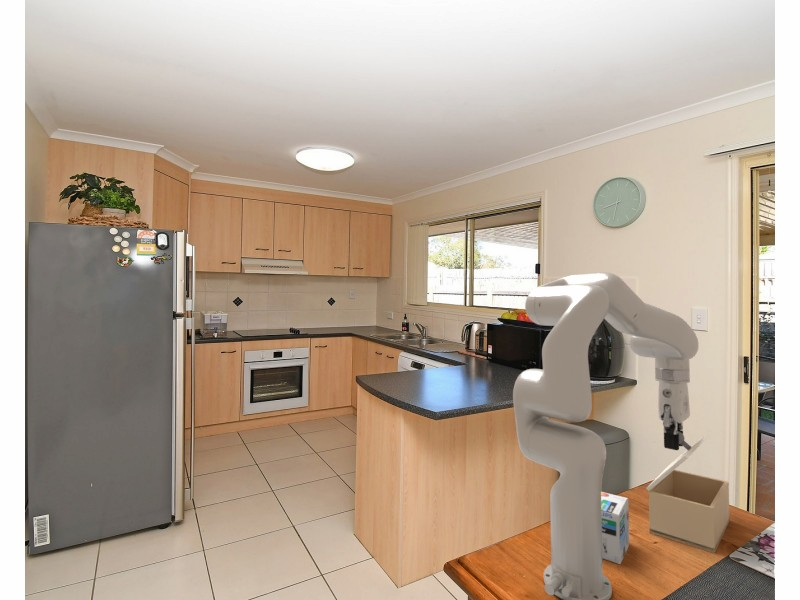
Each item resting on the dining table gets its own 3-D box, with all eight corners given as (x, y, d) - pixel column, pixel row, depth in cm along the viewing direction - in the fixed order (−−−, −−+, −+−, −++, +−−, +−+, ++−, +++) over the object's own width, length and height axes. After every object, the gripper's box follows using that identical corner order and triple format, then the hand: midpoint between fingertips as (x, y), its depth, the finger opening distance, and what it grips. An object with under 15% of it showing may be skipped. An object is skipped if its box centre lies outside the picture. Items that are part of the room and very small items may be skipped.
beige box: (714, 553, 98) (713, 508, 98) (649, 532, 107) (648, 491, 107) (729, 521, 112) (728, 481, 112) (671, 505, 121) (670, 468, 121)
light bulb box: (621, 565, 94) (620, 515, 94) (587, 555, 98) (587, 506, 98) (630, 543, 102) (629, 497, 102) (599, 534, 106) (598, 490, 106)
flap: (688, 457, 101) (665, 437, 104) (648, 491, 107) (628, 470, 110) (706, 438, 115) (685, 420, 119) (670, 468, 121) (651, 450, 124)
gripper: (680, 381, 104) (682, 458, 103) (697, 372, 115) (698, 442, 115) (645, 377, 109) (647, 451, 109) (664, 370, 120) (666, 436, 120)
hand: (673, 446), depth 112 cm, fingers closed on flap, 3 cm apart
